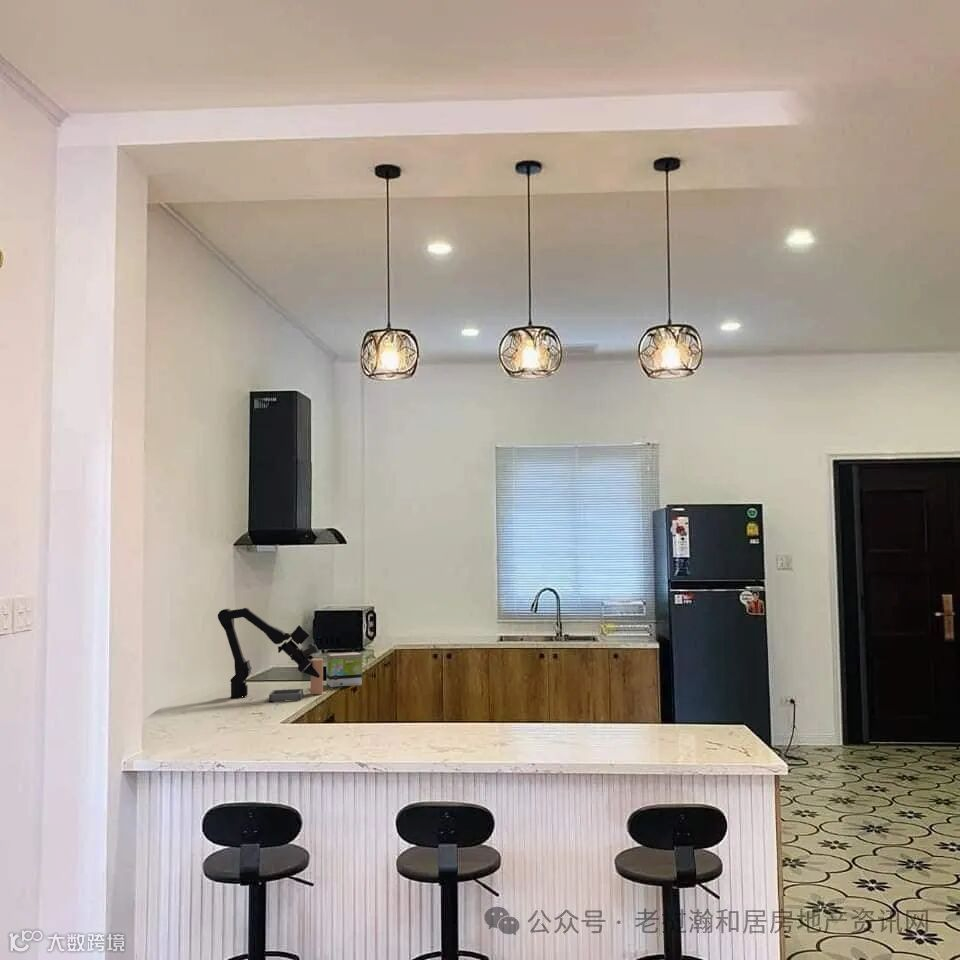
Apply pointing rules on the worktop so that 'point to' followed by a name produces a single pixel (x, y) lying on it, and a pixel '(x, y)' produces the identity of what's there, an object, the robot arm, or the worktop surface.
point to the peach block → (316, 682)
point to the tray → (286, 695)
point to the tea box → (344, 669)
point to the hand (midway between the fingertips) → (319, 676)
